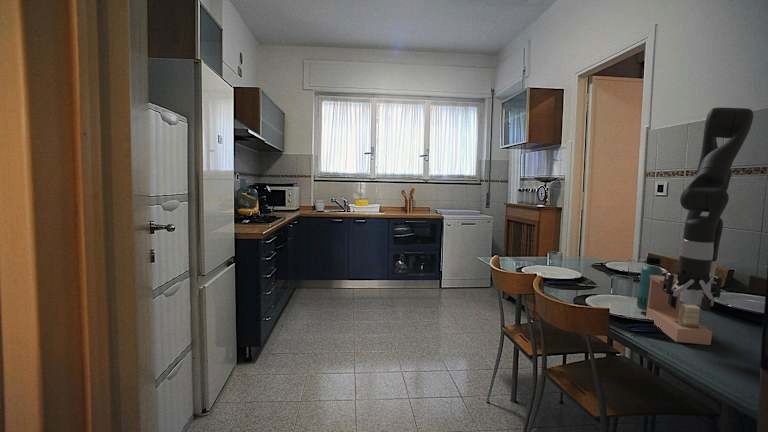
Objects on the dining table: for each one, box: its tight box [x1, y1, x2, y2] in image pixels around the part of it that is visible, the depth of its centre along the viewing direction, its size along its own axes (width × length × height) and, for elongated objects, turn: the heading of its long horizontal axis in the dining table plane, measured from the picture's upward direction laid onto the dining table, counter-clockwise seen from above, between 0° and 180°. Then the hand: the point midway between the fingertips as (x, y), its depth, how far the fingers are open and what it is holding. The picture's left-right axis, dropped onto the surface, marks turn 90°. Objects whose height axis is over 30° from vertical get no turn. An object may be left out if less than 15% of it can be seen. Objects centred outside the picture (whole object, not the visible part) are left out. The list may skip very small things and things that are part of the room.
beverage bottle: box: [636, 255, 664, 312], centre depth 138 cm, size 6×7×20 cm
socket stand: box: [645, 275, 713, 346], centre depth 123 cm, size 10×18×15 cm, turn 171°
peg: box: [678, 302, 701, 328], centre depth 118 cm, size 3×3×10 cm
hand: (688, 308), depth 118 cm, fingers open, 8 cm apart
